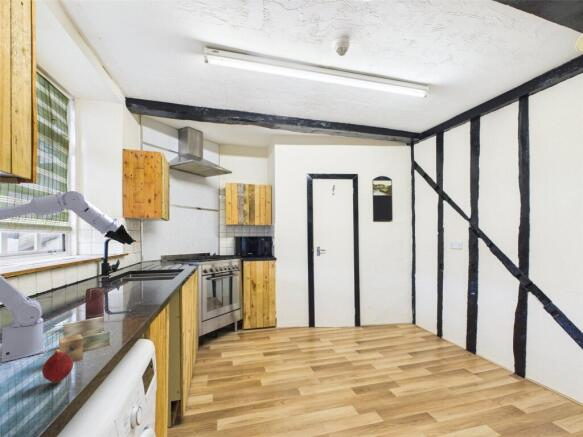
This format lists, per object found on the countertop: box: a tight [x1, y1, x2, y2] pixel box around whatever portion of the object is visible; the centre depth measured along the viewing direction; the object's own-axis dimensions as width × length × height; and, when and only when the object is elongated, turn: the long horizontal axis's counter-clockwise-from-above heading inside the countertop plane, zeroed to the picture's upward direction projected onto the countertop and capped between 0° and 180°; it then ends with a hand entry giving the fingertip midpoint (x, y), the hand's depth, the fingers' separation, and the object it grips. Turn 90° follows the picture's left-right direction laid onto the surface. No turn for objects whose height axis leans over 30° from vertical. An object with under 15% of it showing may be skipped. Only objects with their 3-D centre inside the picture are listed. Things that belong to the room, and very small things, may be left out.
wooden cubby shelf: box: [62, 316, 111, 352], centre depth 94 cm, size 11×10×7 cm
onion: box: [41, 348, 74, 384], centre depth 71 cm, size 6×6×8 cm
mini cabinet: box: [58, 334, 84, 363], centre depth 84 cm, size 5×6×6 cm
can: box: [84, 286, 105, 320], centre depth 116 cm, size 6×6×14 cm
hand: (128, 242), depth 109 cm, fingers open, 7 cm apart
